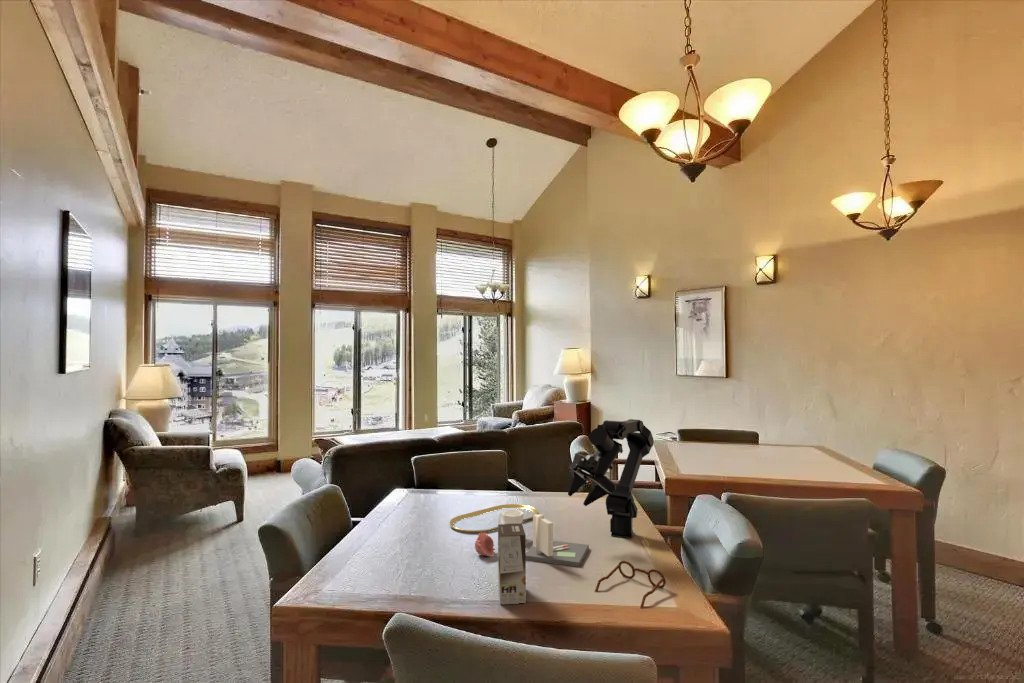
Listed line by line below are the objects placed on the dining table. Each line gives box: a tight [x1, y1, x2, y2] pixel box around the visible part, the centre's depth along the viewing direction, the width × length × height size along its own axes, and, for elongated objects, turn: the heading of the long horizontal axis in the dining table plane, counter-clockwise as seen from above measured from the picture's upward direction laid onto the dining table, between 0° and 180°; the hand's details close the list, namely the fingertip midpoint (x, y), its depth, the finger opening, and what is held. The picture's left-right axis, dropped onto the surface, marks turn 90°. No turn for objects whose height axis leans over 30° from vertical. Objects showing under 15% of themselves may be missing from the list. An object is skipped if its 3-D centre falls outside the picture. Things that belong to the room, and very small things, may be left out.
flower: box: [474, 531, 496, 558], centre depth 152 cm, size 8×8×6 cm
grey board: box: [526, 540, 590, 568], centre depth 152 cm, size 16×14×1 cm
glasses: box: [594, 560, 667, 609], centre depth 128 cm, size 13×13×5 cm
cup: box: [498, 509, 525, 525], centre depth 167 cm, size 7×10×8 cm
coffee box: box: [497, 522, 527, 605], centre depth 126 cm, size 9×6×16 cm
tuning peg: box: [532, 513, 568, 556], centre depth 150 cm, size 9×10×10 cm
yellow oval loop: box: [449, 503, 538, 534], centre depth 184 cm, size 19×35×2 cm, turn 132°
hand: (576, 500), depth 157 cm, fingers open, 9 cm apart
